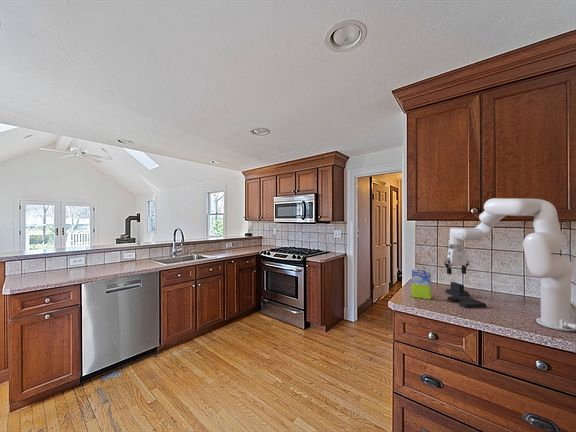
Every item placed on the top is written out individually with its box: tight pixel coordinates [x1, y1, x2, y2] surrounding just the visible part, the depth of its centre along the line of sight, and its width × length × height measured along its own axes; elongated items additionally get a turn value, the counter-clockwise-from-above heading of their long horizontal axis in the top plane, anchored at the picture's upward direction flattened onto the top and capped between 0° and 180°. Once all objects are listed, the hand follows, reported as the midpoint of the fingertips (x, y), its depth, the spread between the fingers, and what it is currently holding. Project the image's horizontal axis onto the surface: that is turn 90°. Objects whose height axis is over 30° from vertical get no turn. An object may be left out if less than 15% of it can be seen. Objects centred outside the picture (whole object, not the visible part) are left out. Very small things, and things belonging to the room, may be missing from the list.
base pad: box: [447, 295, 487, 309], centre depth 147 cm, size 14×12×2 cm
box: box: [411, 268, 432, 301], centre depth 158 cm, size 10×4×17 cm, turn 54°
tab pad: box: [445, 281, 471, 298], centre depth 164 cm, size 12×10×7 cm
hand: (456, 273), depth 164 cm, fingers open, 9 cm apart
